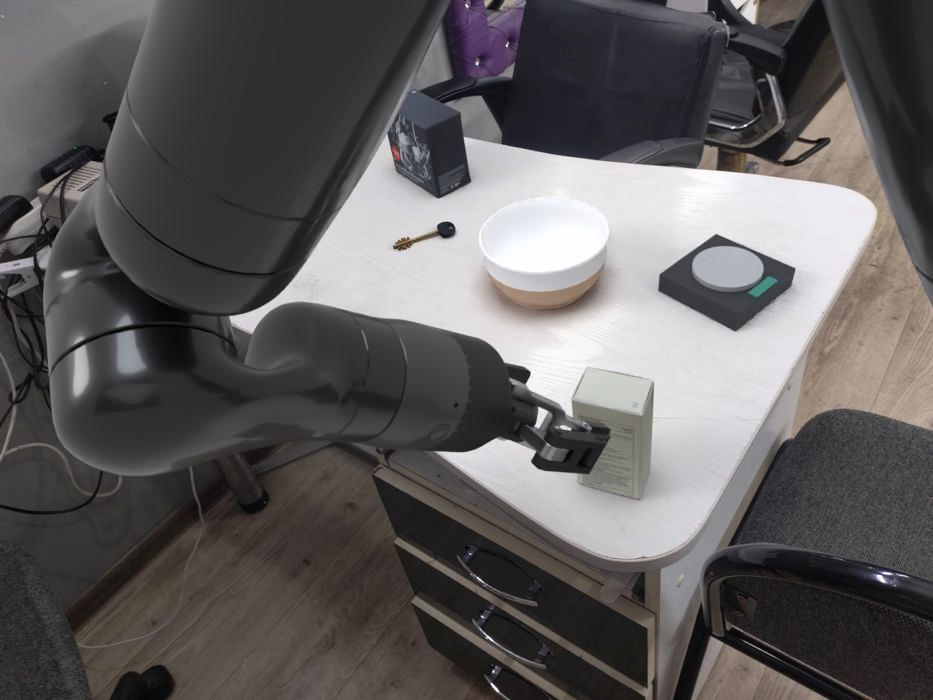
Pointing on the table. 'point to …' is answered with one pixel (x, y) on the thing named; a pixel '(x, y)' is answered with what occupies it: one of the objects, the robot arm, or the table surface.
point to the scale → (726, 281)
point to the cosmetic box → (618, 428)
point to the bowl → (545, 250)
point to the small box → (429, 144)
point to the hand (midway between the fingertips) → (560, 408)
